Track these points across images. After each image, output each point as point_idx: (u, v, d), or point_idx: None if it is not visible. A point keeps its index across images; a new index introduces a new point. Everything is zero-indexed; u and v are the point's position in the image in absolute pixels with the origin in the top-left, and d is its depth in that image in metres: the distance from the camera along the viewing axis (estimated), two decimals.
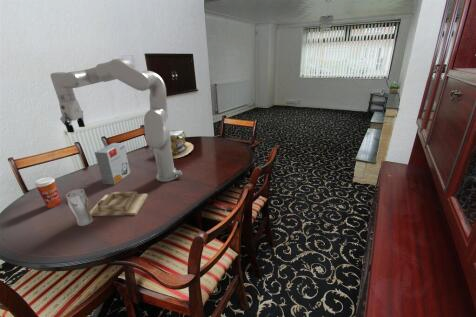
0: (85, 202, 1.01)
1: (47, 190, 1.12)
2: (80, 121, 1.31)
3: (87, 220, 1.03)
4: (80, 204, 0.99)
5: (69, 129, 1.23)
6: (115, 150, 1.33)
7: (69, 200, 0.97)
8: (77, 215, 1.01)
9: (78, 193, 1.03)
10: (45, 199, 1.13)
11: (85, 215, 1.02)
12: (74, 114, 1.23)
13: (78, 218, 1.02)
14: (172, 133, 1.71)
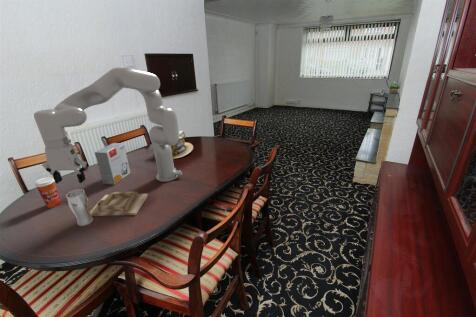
0: (85, 202, 1.01)
1: (47, 190, 1.12)
2: (58, 174, 0.96)
3: (87, 220, 1.03)
4: (80, 204, 0.99)
5: (83, 177, 0.97)
6: (115, 150, 1.33)
7: (69, 200, 0.97)
8: (77, 215, 1.01)
9: (78, 193, 1.03)
10: (45, 199, 1.13)
11: (85, 215, 1.02)
12: None
13: (78, 218, 1.02)
14: None
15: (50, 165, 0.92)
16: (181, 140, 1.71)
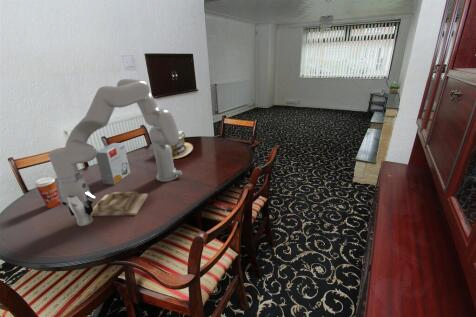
0: None
1: (47, 190, 1.12)
2: None
3: (87, 220, 1.03)
4: (80, 204, 0.99)
5: (91, 209, 1.03)
6: (115, 150, 1.33)
7: (69, 200, 0.97)
8: (77, 215, 1.01)
9: None
10: (45, 199, 1.13)
11: (85, 215, 1.02)
12: None
13: (78, 218, 1.02)
14: None
15: (63, 198, 0.98)
16: (181, 140, 1.70)
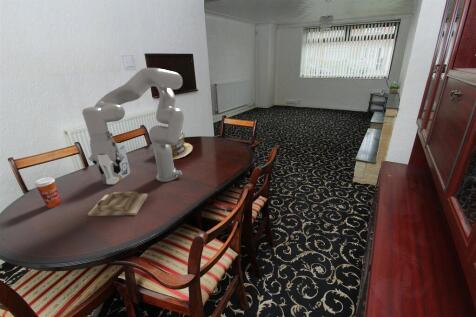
0: None
1: (47, 190, 1.12)
2: None
3: (115, 179, 1.09)
4: (109, 162, 1.04)
5: (119, 168, 1.08)
6: None
7: (100, 158, 1.02)
8: (106, 173, 1.06)
9: None
10: (45, 199, 1.13)
11: (114, 173, 1.07)
12: None
13: (107, 176, 1.07)
14: None
15: (94, 156, 1.03)
16: (180, 141, 1.70)
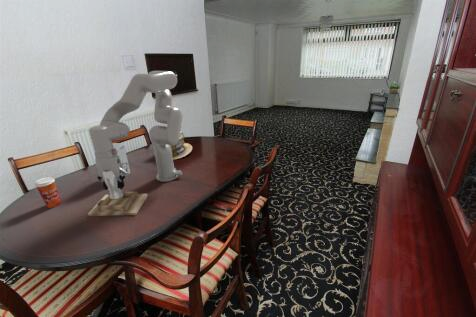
0: None
1: (47, 190, 1.12)
2: None
3: (119, 194, 1.12)
4: (114, 178, 1.07)
5: (123, 184, 1.12)
6: (115, 150, 1.33)
7: (104, 174, 1.06)
8: (110, 189, 1.09)
9: None
10: (45, 199, 1.13)
11: (117, 189, 1.11)
12: None
13: (111, 192, 1.10)
14: None
15: (99, 173, 1.06)
16: (180, 141, 1.69)
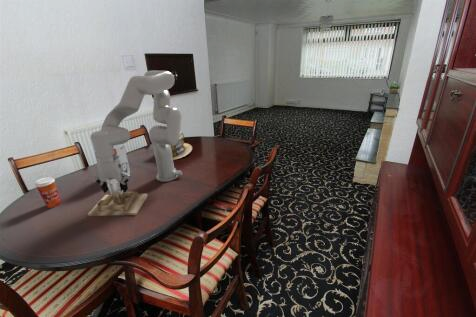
0: (121, 184, 1.11)
1: (47, 190, 1.12)
2: (105, 185, 1.12)
3: (122, 201, 1.14)
4: (117, 186, 1.09)
5: (127, 187, 1.12)
6: (115, 150, 1.33)
7: (108, 182, 1.07)
8: (114, 196, 1.11)
9: None
10: (45, 199, 1.13)
11: (121, 196, 1.13)
12: None
13: (115, 199, 1.12)
14: None
15: (100, 177, 1.07)
16: (180, 141, 1.69)
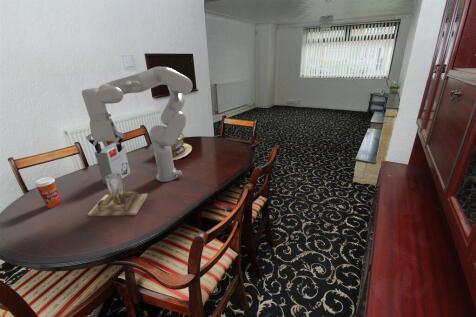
0: (121, 184, 1.11)
1: (47, 190, 1.12)
2: (98, 145, 1.12)
3: (122, 201, 1.14)
4: (117, 186, 1.09)
5: (121, 147, 1.13)
6: (115, 150, 1.33)
7: (108, 182, 1.07)
8: (114, 196, 1.11)
9: (114, 176, 1.13)
10: (45, 199, 1.13)
11: (121, 196, 1.13)
12: None
13: (115, 199, 1.12)
14: None
15: (93, 137, 1.08)
16: (180, 141, 1.68)
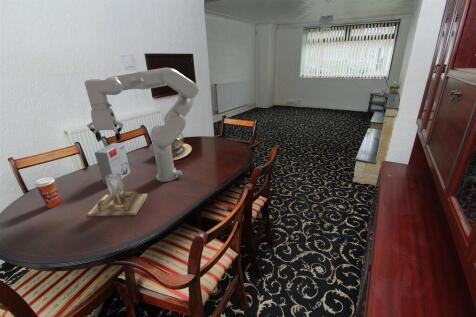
0: (121, 184, 1.11)
1: (47, 190, 1.12)
2: (99, 134, 1.18)
3: (122, 201, 1.14)
4: (117, 186, 1.09)
5: (120, 136, 1.19)
6: (115, 150, 1.33)
7: (108, 182, 1.07)
8: (114, 196, 1.11)
9: (114, 176, 1.13)
10: (45, 199, 1.13)
11: (121, 196, 1.13)
12: None
13: (115, 199, 1.12)
14: None
15: (94, 125, 1.14)
16: (179, 141, 1.68)
